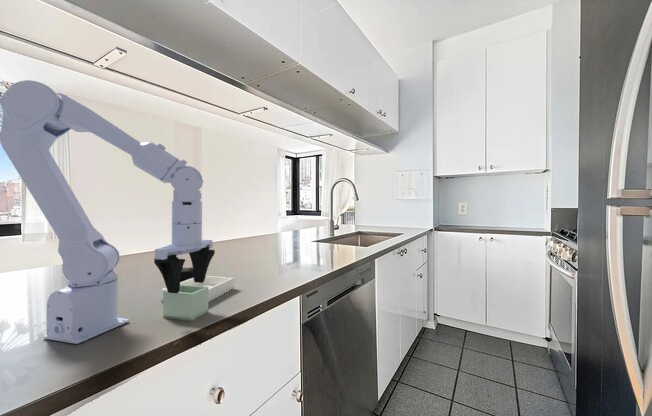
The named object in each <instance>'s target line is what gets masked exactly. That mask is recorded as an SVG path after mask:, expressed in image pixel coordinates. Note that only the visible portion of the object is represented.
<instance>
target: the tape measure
mask: <svg viewBox="0 0 652 416" xmlns="http://www.w3.org/2000/svg"><path fill="white" fill-rule="evenodd" d="M191 278H193V266H191V267H183V268H182V271H181V277H180V282H183V281H185V280H188V279H191Z"/></svg>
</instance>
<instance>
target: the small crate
mask: <svg viewBox="0 0 652 416" xmlns="http://www.w3.org/2000/svg"><path fill="white" fill-rule="evenodd" d="M162 303H163V310H162V311H163V313H162V315H163V317H162V318H164V319H173V320H178V321H187V322H194V321H195V320H198V318H201V317H202V316H204V315H205V314H208V313H209V302H208V287H202V286H192V285H180V289H179V292H178V293H168V291H167V290H165V291H163V302H162Z"/></svg>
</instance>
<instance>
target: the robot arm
mask: <svg viewBox="0 0 652 416" xmlns="http://www.w3.org/2000/svg"><path fill="white" fill-rule="evenodd" d="M58 94H59V95H60V96H59V95H58ZM58 94H57V93H56V92H55V91H54V90H53V88H51V87H50V86H48V85H46V84H45V83H42V82H40V81H36V80H28V79H26V80H19V81H17V82H15V83H13V84H11V86H9V87H8V89H7V90H6V91H5V92H4V93H3V94H2V95H1V97H0V107H1V109H2V117H1V119H2V120H1V128H0V145H1V147H2V149H3V151H4V152H5V154H6V156H7V158H9V160H10V162H11V164H12V165H13V167H14V169H15V170H16V171H17V173H18V175H19V177H20V178H21V180H22V182H23V183H24V185H25V186H26V188H27V190H28V191H29V193H30V194H31V196H32V197H33V199H34V201H35V202H36V204H37V206H38V208H39V209H40V211H41V213H42V214H43V215H44V217H45V219H46V220H47V222H48V224H49V225H50V227H51V229H52V230H53V232H54V233H55V235H56V236H57V238H58V248H57V252H58V254H59V256H60V257H61V260H62V266H61V267H62V274H63V275H64V278H65V279H66V280H67V285H65V287H63V288H61V289H58V290H56V291H53V292H52V293H50V294H49V296H48V298H47V302H46V334H45V335H43V339H46V340H52V341H57V342H63V343H69V344H73V345H74V344H75V345H77V344H81V343H82V342H86V341H88V340H89V339H92V338H94V337H97V336H99V335H101V334H104V333H106V332H108V331H111V330H113V329H115V328H117V327H119V326H122V325H124V324H127V323H128V322H130V319H129V318H125V317H118V299H119V298H118V291H119V290H118V289H119V288H118V285H119V284H118V281H119V280H118V274H117V273H116V272H115V271H114V269H115V268H116V267H117V266H118V264H119V262H120V259H121V257H120V252H119V250H118V249H117V248H116V247H115V246H114V245H112V244H111V243H109V241H107V240H106V239H105V237H104V236H103V234H102V233H101V232H99V231H98V230H97V228H95V227H94V225H93V224H92V222H91V221H90V219H89V217H88V215H87V213H86V212H85V210H84V208H83V206H82V205H81V203H80V202H79V199H78V197H76V195H75V192H74V191H73V189H72V188H71V186H70V184H69V182H68V181H67V179H66V178H65V176H64V174H63V172H62V170H61V169H60V168H59V166H58V164H57V162H56V161H55V159H54V157H53V155H52V154H51V152H50V149H51V147H53V145H54V143H55V142H56V141H57V139H59V138H60V137H62V136H63V135H65V134H66V133H68V132H69V131H70V130H72V131H74V132H76V133H91V134H93V135H94V136H96V137H99V138H100V139H102V140H104V141H105V142H107V143H109V144H110V145H112V146H114V147H116V148H118V149H120V151H123V152H124V153H126V154H128V155H130V156H131V159H132V163H133V166H135V167H137V168H138V169H140V170H141V171H143V172H145V173H147V174H148V175H150V176H152V177H154V178H155V179H157V180H158V181H159V182H162V183H163V184H167V183H168V184H171V187H172V188H173V190H172V191H173V192H172V194H173V195H172V198H173V199H172V201H171V244H169V245H166V246H162V247H159V248H155V249H154V258H153V259H154V260H153V261H154V265H155V266H156V268H157V269H158V270H159V272H160V274H161V276H162V278H163V281H164V283H165V288H167V291H168V293H178V292H179V289H180V277H181V271H182V268H184V265H185V262H186V259H185V258H179V257H178V256H181V255H184V254H188V255H189V257H190V260H191V265H192V266H191V267H192V268H193V278H194V282H198V283H203V282H204V280H205V276H207V272H208V270H209V269H208V268H209V266H210V263H211V261H212V259H213V257H214V255H215V253H216V252H215V249H213V243H214V242H213V239H203V238H202V237H203V229H202V228H203V227H202V226H203V221H202V220H203V202H202V201H201V200H202V191H201V188H202V187H203V184H204V180H203V177H202V174H201V173H200V171H199V170H198V169H197V168H195V167H194V166H190V165H187V163H188V161H186V160H185V159H183V158H182V159H179V158H177V157H176V156H175V155H173V154H171V153H170V152H168V151H167V150H166V147H165V145H162V143H154V142H152V141H149V142H148V141H147V142H141V141H139V140H137V139H136V138H134V137H133V136H132V135H130V134H128V133H127V132H125V131H124V130H122V129H121V128H119V127H118V126H117V125H115V124H113V123H112V122H110V121H109V120H107V119H105V118H104V117H103V116H101V115H100V114H98V113H97V112H95V111H93V110H92V109H91V108H90V107H87V106H85V105H83V104H81V102H79V101H76V100H74V99H73V98H72V97H70V96H67V95H65V94H64V93H61V92H58Z"/></svg>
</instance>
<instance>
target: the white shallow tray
mask: <svg viewBox="0 0 652 416" xmlns="http://www.w3.org/2000/svg"><path fill="white" fill-rule="evenodd" d="M180 285H192V286H202V287H208V303H209V302H211V301H213V300H215V299H217V298H219V297H220V296H223V295H224V293H225V294H227V293H228V292H230V291H232V290H234V289H235V277H226V276H213V275H206V276H205V280H204V282H203V283H198V282H194V278H191V279H188V280H185V281H183V282H180ZM233 288H234V289H233ZM231 289H232V290H231ZM165 290H167V288H166V287H163V288H161V289H160V302H161V303H163V291H165ZM229 290H230V291H229ZM226 292H227V293H226Z"/></svg>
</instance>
